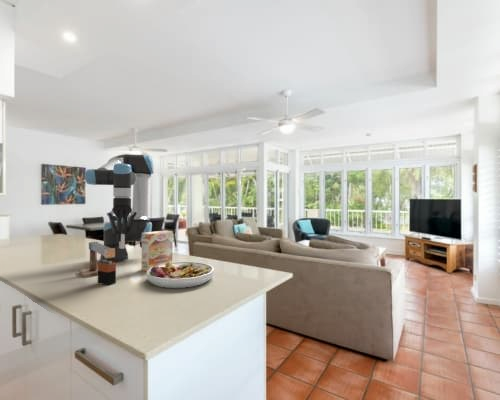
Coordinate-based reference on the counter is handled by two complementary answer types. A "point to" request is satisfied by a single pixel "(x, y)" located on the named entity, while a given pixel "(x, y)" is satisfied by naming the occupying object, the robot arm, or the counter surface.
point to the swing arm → (102, 249)
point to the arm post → (91, 266)
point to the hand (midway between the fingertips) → (121, 248)
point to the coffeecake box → (156, 248)
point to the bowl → (180, 274)
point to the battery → (106, 272)
